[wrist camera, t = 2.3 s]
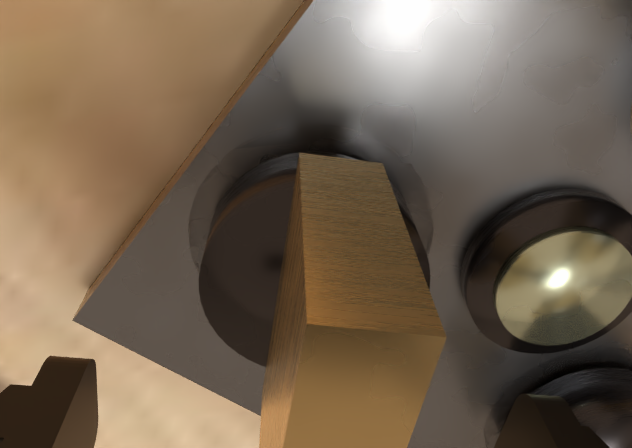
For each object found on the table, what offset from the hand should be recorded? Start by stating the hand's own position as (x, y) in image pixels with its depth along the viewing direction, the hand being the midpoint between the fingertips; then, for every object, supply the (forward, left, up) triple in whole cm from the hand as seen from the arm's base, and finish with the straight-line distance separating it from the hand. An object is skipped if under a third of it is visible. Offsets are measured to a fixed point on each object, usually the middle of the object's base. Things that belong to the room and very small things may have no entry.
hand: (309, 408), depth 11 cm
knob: (0, 0, -5) cm, 5 cm away
